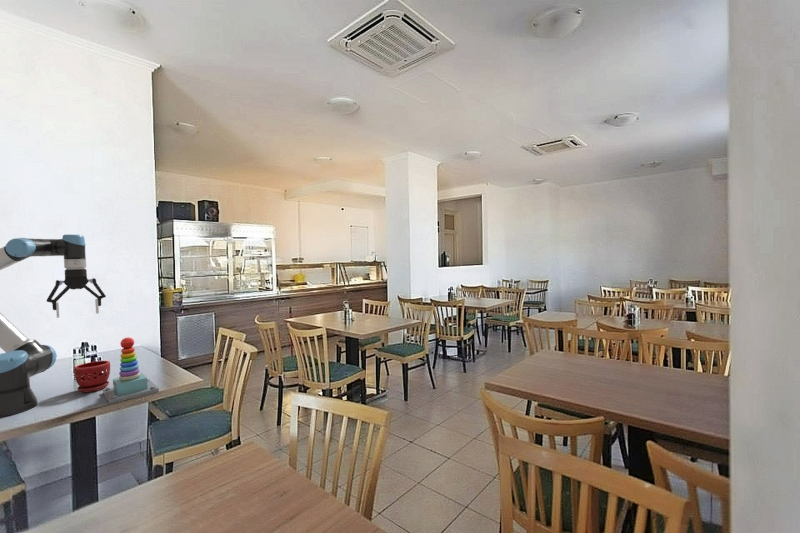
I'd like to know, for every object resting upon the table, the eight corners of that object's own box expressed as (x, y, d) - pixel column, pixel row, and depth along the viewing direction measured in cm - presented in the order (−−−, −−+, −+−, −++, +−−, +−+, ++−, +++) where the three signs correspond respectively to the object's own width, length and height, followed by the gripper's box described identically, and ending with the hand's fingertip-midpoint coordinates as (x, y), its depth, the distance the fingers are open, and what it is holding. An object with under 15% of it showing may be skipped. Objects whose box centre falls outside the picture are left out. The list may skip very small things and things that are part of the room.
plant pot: (114, 387, 178) (113, 362, 177) (79, 396, 168) (77, 370, 167) (107, 381, 186) (106, 358, 186) (73, 389, 176) (71, 364, 176)
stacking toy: (144, 375, 174) (142, 335, 173) (131, 381, 166) (128, 339, 165) (128, 375, 175) (126, 335, 174) (114, 381, 167) (111, 340, 166)
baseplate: (109, 403, 158) (108, 388, 158) (103, 393, 171) (102, 379, 170) (158, 391, 171) (157, 377, 170) (149, 382, 183) (148, 369, 183)
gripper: (37, 270, 157) (40, 320, 158) (111, 267, 175) (113, 312, 176) (37, 269, 163) (40, 318, 164) (109, 267, 180) (111, 310, 181)
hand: (78, 315), depth 170 cm, fingers open, 13 cm apart
